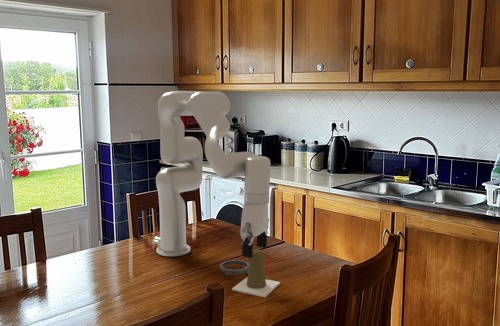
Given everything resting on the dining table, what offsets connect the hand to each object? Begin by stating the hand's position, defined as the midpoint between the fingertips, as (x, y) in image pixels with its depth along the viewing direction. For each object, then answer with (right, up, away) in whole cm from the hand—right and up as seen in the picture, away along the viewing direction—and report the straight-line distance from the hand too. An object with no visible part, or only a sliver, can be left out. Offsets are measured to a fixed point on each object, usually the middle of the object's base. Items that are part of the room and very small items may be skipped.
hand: (254, 251), depth 146 cm
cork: (+1, -11, +1) cm, 11 cm away
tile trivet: (+1, -11, +1) cm, 11 cm away
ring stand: (-6, -9, +13) cm, 17 cm away
